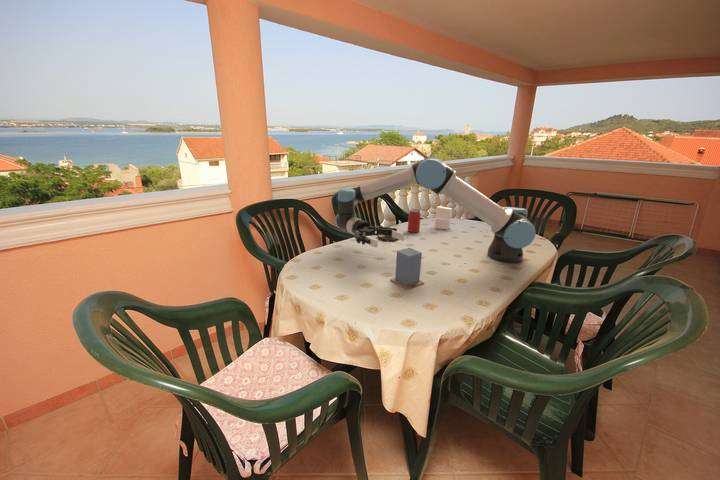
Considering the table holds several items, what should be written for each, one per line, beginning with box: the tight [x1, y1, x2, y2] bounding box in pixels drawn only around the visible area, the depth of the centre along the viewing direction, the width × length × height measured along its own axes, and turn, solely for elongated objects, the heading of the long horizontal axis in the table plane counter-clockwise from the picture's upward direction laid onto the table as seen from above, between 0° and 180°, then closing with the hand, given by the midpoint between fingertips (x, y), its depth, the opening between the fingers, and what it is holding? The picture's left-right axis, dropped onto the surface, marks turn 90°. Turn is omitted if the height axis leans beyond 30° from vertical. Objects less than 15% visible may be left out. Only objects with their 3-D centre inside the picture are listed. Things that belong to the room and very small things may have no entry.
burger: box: [377, 235, 398, 243], centre depth 168 cm, size 12×12×8 cm
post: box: [389, 277, 425, 291], centre depth 119 cm, size 9×9×8 cm
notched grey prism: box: [394, 247, 423, 286], centre depth 118 cm, size 6×6×12 cm
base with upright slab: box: [434, 205, 453, 230], centre depth 188 cm, size 9×9×12 cm
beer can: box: [407, 209, 422, 234], centre depth 180 cm, size 7×7×12 cm
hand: (390, 240), depth 123 cm, fingers open, 13 cm apart
